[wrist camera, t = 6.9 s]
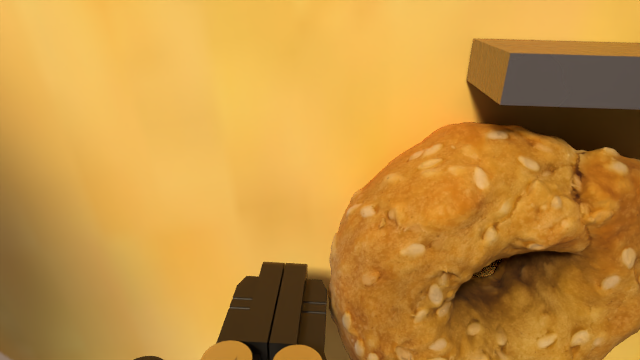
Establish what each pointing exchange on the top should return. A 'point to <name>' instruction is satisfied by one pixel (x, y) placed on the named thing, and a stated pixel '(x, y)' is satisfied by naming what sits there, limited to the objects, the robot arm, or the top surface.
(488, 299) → the bagel
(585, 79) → the metal dock
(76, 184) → the top surface
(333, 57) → the top surface
